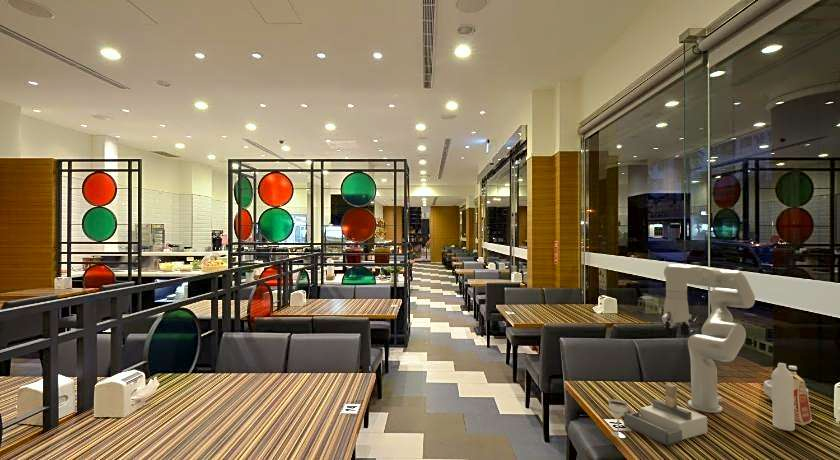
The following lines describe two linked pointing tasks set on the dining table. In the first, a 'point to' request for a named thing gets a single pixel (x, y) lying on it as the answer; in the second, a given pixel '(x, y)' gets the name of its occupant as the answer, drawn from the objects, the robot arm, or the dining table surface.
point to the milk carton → (801, 401)
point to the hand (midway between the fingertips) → (677, 336)
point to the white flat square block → (675, 421)
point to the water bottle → (783, 397)
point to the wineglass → (618, 413)
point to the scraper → (671, 403)
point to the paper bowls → (769, 388)
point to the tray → (652, 430)
